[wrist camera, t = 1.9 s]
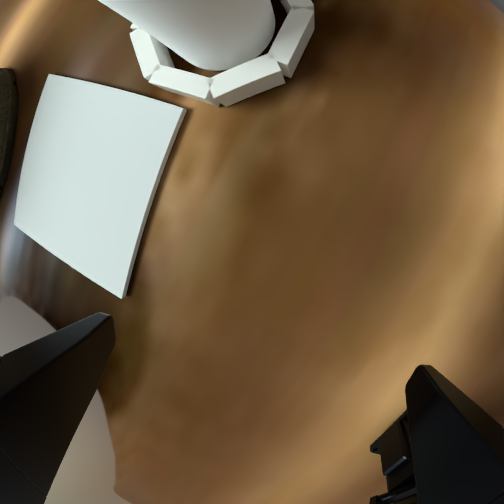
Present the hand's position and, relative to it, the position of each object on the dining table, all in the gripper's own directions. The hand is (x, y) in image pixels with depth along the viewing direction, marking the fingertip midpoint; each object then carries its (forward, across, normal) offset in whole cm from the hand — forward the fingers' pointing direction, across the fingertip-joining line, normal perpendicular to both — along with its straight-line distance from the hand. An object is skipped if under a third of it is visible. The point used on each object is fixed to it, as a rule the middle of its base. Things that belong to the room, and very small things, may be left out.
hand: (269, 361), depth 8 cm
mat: (+13, +15, -1) cm, 20 cm away
